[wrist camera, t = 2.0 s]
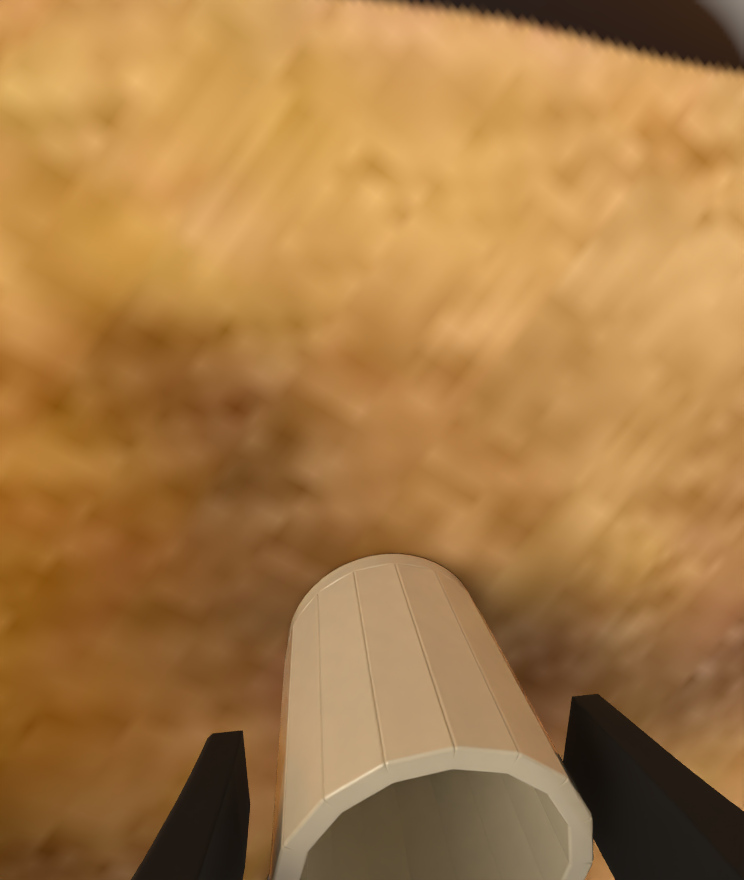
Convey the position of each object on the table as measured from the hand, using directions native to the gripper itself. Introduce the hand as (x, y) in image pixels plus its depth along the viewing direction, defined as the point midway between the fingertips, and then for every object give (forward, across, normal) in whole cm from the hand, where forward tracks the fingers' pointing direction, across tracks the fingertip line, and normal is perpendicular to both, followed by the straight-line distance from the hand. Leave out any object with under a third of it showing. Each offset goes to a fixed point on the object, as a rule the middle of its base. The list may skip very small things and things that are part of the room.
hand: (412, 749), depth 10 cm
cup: (+4, 0, 0) cm, 4 cm away
